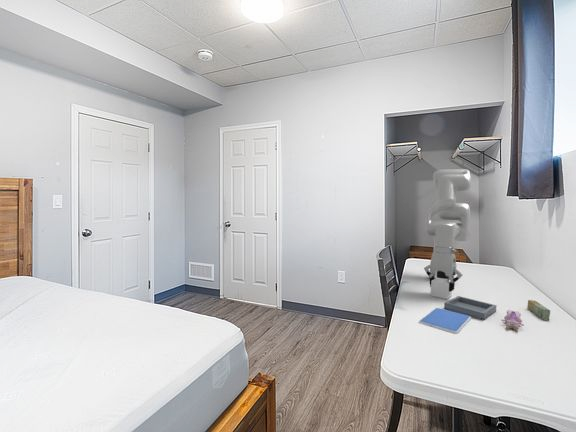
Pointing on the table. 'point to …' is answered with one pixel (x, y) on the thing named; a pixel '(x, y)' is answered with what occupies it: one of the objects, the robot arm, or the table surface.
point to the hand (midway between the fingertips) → (441, 288)
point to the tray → (470, 307)
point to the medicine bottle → (440, 286)
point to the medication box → (538, 309)
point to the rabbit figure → (513, 320)
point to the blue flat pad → (445, 320)
